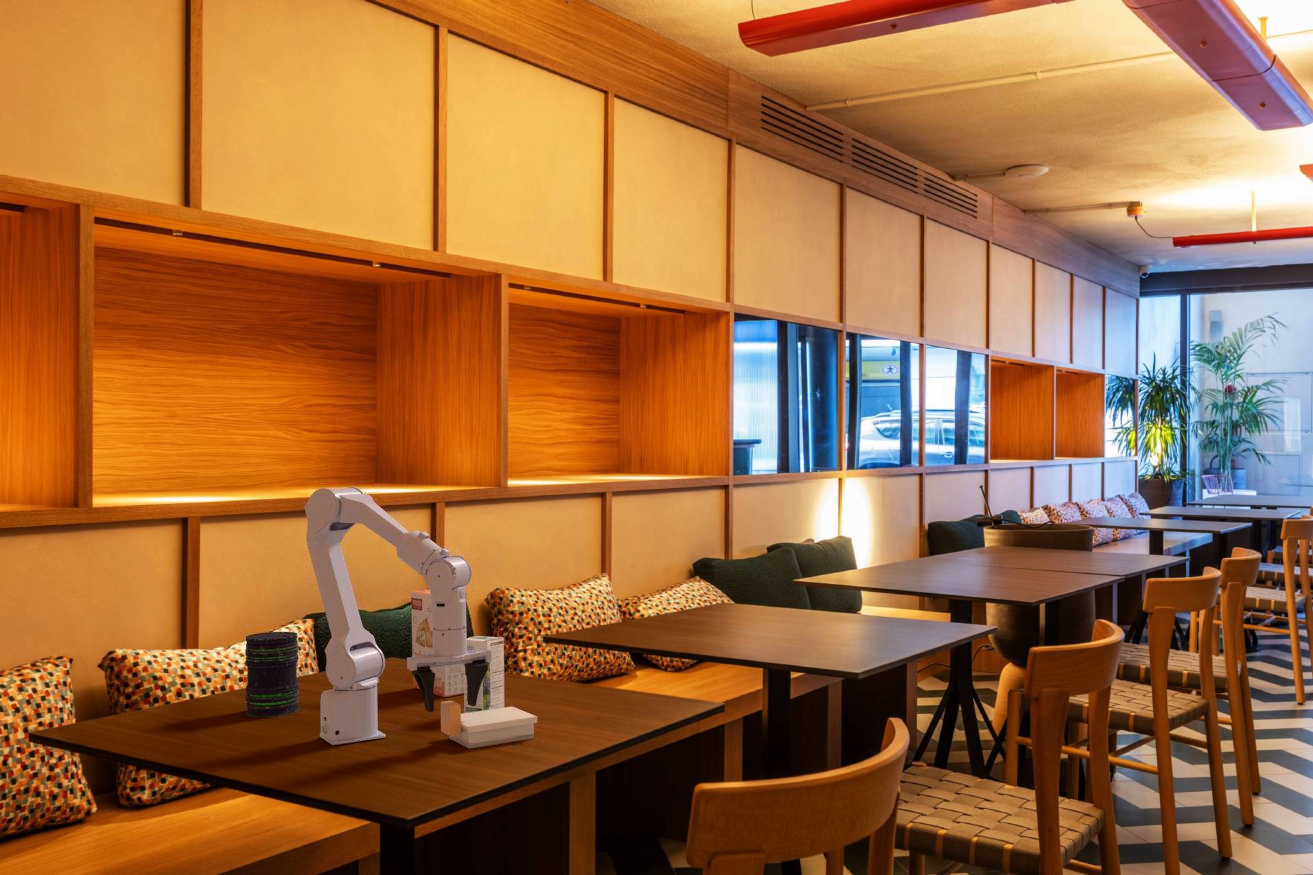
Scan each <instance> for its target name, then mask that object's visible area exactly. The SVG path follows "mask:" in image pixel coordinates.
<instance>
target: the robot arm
mask: <svg viewBox="0 0 1313 875" xmlns="http://www.w3.org/2000/svg"><path fill="white" fill-rule="evenodd" d="M304 511H305V515H306V518H307V528H306V537H305V538H306V545H307V550H308V553H309V557H310V559H311V564H312V567H313V571H314V575H315V579H316V583H317V586H318V590H319V593H320V597H321V601H322V606H323V609H324V612H325V616H326V618H327V623H328V626H329V631H330V634H331V638H330V639H329V642H328V643H327V645H326V647H325V649H324V653H325V657H326V665H325V674H326V677H327V680H328V682H329V683H330V684H331V685H332V689H328V690H323V691H322V693H321V695H320V704H319V705H320V710H319V711H320V733H319V737H320V738H321V739H323V740H324V741H326V742H327V743H328V744H330V745H331V746H336V745H343V744H351V743H355V742H356V743H357V742H362V741H363V742H364V741H368V740H376V739H383V738H386V734H385V733H383V732H382V731H380V730H378V728H379V727H378V723H379V722H378V721H379V720H378V683H379V677H380V676H382V674H383V672H384V670H385V667H386V660H385V655H384V653H383V651H382V650H381V648H379V646H378V645H377V643H376V640H375V637H374V635H373V634H371V633H370V632H369V631H368V630H367V629H365V628H364V626H363V622H362V619H361V616H360V612H359V608H358V604H357V600H356V597H355V594H354V589H353V586H352V581H351V579H350V576H349V571H348V567H347V563H346V560H345V556H344V553H343V549H342V545H341V543H342V541H343V539H344V537H345V536H346V535H347V533H348V532H349V531H350V530H351V529H352V528H353V527H355V525H356V524H359V525H363V526H365V527H366V528H368V529H369V530H370V531H372V532H373V533H375V534H376V535H378V536H379V537H380V538H382V539H383V540H385V541H386V542H388V543H390V544H391V545H393V547H395V548H396V556H397V557H398V559H400V561H402V562H403V563H405V564H406V565H408V566H409V567H410V568H411V569H413V570H414V571H415V572H417V573H418V574H419V575H420V576H422V577H423V580H424V583H425V586H426V587H427V588H428V590H430V592H431V599H432V628H433V629H432V633H433V654H427V655H422V656H417V657H412V656H411V657H406V660H407V661H406V666H407V667H406V669H407V670H409V671H411V674H412V677H413V676H414V678H415V680H416V682H417V684H418V686H419V688H420V689H419V690H420V694H421V696H422V700H423V704H424V710H425V711H426V712H427V713H434V710H435V709H434V708H435V701H434V696H435V694H433V691H434V680H435V673H434V672H432V669H431V670H430V668H432V667H441V666H449V665H457V664H464V665H465V671H466V678H467V701H468V705H471V706H476V702H477V697H478V693H479V689H480V686H481V683H482V681H483V678H484V676H485V674H486V672H487V671H488V664H487V663H486V662H489V661H492V655H491V650H489V649H479V650H467V636H468V635H467V595H466V594H467V590H466V589H467V588H466V587H467V585H469V583H470V582H471V578H472V568H471V566H470V563H469V562H468V561H467V560H466V559H465V557H464V556H462V555H456V554H455V555H450V550H449V549H447V548H442V547H441V546H439V545H438V544H437V543H435V541H433V540H432V539H430V534H429V533H428V532H426V531H420V530H413V531H408V530H407V528H405V527H404V526H403V525H402V524H401V523H399V522H398V521H397V520H396V519H394V518H393V517H392V516H391V515H390V514H389V513H388V512H387V511H385V509H383V508H382V507H381V506H380V505H378V504H377V503H376V502H375V501H374V499H373V497H372V496H371V495H369V494H367V493H365V492H364V491H363V490H362V489H361V488H359V487H357V486H356V487H355V486H348V487H341V488H340V487H339V488H338V487H337V488H336V487H335V488H328V487H322V488H318V489H316V490H315V491H313V492H312V494H311V495H310V496H309V499H308V501H307V502H306V504H305V505H304ZM449 661H453V662H449ZM442 662H444V663H442ZM434 663H435V664H434Z"/></svg>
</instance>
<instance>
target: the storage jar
mask: <svg viewBox="0 0 1313 875" xmlns="http://www.w3.org/2000/svg"><path fill="white" fill-rule="evenodd" d="M297 639H298V632H293V631H269V632H266V631H265V632H258V633H252V634H248V635H246V636H245V642H246V644H245V650H244V651H245V653H244V654H245V666H246V669H247V670H246V671H247V674H246V675H247V681H246V682H247V684H246V686H245V693H246V694H245V702H246V704H245V705H246V707H247V708H246V715H247V716H248V717H250V718H275V717H283V716H282V715H284V716H288V715H291V714H292V715H293V714H295V713H297V712H298V711H299V705H298V703H299V699H298V698H299V697H300V695H299V694H300V693H299V692H300V691H299V681H298V680H297V678H298V677H297V676H298V675H297V673H298V672H297V669H298V668H297V666H298V665H297V664H298V662H299V646H298V645H299V644H298V640H297Z"/></svg>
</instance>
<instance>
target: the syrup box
mask: <svg viewBox="0 0 1313 875" xmlns="http://www.w3.org/2000/svg"><path fill="white" fill-rule="evenodd" d="M504 641H505V640H504V637H503V636H502V637H496V636H484V635H482V636H481V635H478V636H477V635H476V636H470V637H468V638H467V650H479V649H489V650H491V655H492V661H489V662H486V663H487V664H488V671H487V672H486V674H485V676H484V678H483V681H482V683H481V686H480V689H479V693H478V697H477V702H476V706H471V705H468V701H467V678H466V671H465V665H464V694H463V695H464V696H463V697H464V698H463V702H464V704H463V713H469V712H476V711H484V710H491V709H498V708H505V654H504V653H505V648H504V646H505V645H504V644H505V642H504Z"/></svg>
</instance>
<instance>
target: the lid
mask: <svg viewBox="0 0 1313 875" xmlns="http://www.w3.org/2000/svg"><path fill="white" fill-rule="evenodd" d="M530 723H534V724H537V723H538V716H536V715H534V714H532V713H529V712H527V711H524V710H522V709H519V708H517V707H515V706H506V707H505V706H504V708H498V709H491V710H484V711H476V712H469V713H464V712H463V713H462V712H461V704H460V703H458V702H456V701H453V700H445V701H440V731H441V732H442V733H444V734H445V735H446V736H448V737H449V736H452V735H459V734H461V727H463V728H465V729H467V733H471V732H478V731H484V730H491V729H497V728H504V727H511V726H517V725H524V724H530Z"/></svg>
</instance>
